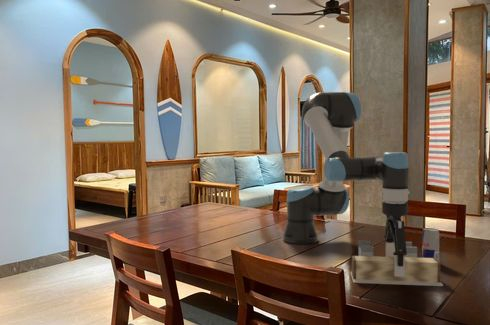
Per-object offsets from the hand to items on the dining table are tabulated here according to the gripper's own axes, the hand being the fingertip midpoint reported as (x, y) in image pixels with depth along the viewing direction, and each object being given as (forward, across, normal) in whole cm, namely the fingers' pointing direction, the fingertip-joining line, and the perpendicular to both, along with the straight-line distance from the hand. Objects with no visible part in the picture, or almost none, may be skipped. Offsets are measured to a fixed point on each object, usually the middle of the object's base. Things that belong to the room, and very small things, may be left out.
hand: (394, 268), depth 127 cm
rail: (+3, 0, 0) cm, 3 cm away
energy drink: (+4, +18, -16) cm, 25 cm away
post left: (+3, +12, +7) cm, 15 cm away
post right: (+3, +12, -7) cm, 15 cm away
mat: (+3, 0, 0) cm, 3 cm away
